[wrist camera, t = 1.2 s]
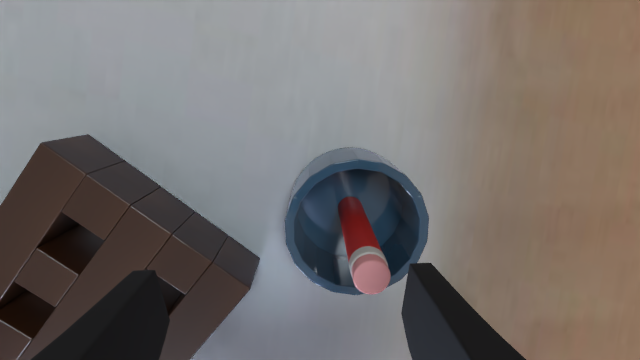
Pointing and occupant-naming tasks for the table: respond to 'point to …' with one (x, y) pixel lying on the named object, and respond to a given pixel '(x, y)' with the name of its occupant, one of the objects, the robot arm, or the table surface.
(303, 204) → the cup
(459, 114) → the table surface
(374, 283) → the pencil
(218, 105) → the table surface
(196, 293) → the pencil stand
